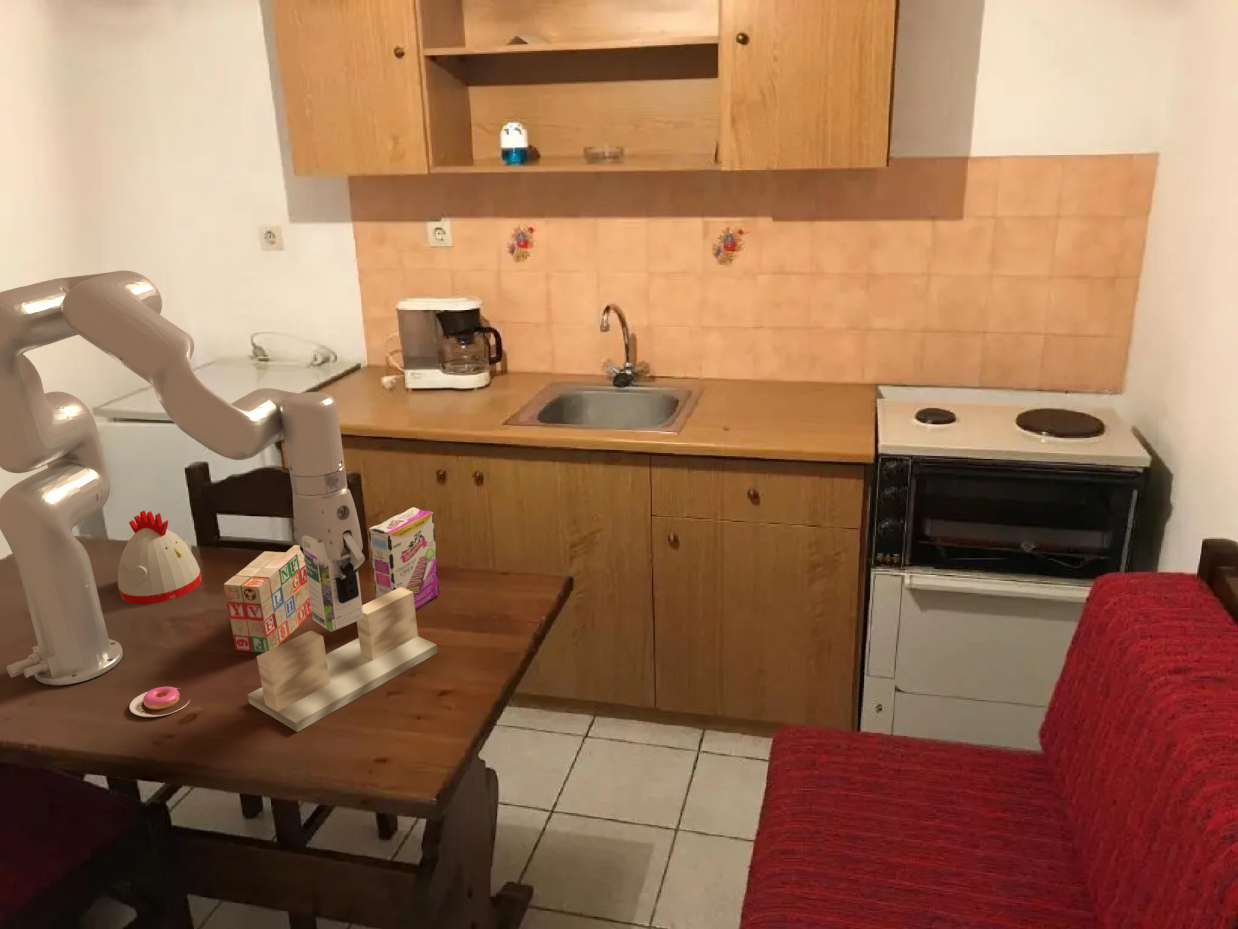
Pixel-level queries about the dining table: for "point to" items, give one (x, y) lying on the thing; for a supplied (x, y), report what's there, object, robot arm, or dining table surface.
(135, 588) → the kitchen timer
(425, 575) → the candy bar box
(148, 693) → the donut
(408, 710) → the dining table surface
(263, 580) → the stack of blocks
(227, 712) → the dining table surface
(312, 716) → the slotted board
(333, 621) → the syrup box
